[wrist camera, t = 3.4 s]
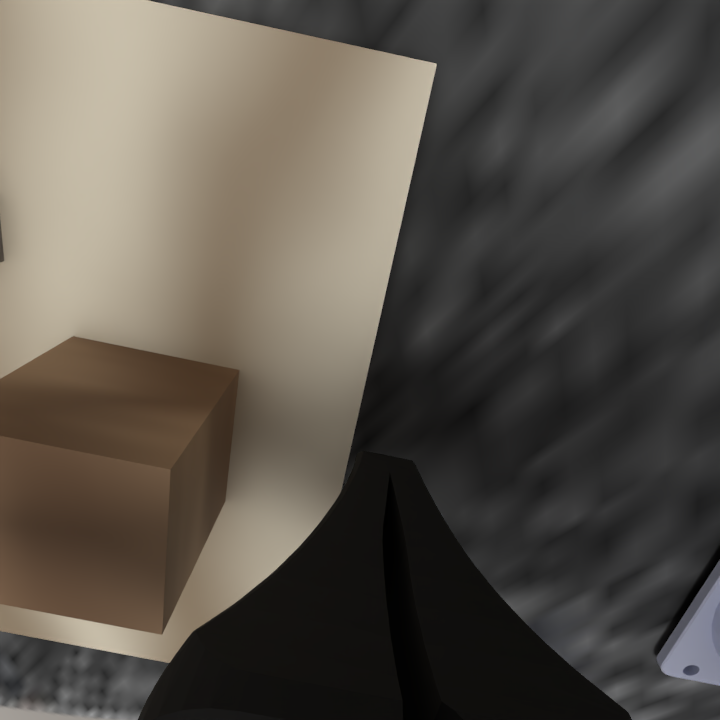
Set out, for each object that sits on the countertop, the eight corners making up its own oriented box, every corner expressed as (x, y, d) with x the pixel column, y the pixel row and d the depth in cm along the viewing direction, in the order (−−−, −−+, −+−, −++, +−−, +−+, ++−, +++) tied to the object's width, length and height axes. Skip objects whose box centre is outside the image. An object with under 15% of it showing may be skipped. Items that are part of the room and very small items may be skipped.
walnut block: (239, 370, 12) (170, 469, 8) (225, 501, 13) (161, 634, 10) (73, 335, 12) (-73, 421, 8) (78, 472, 13) (-42, 596, 10)
